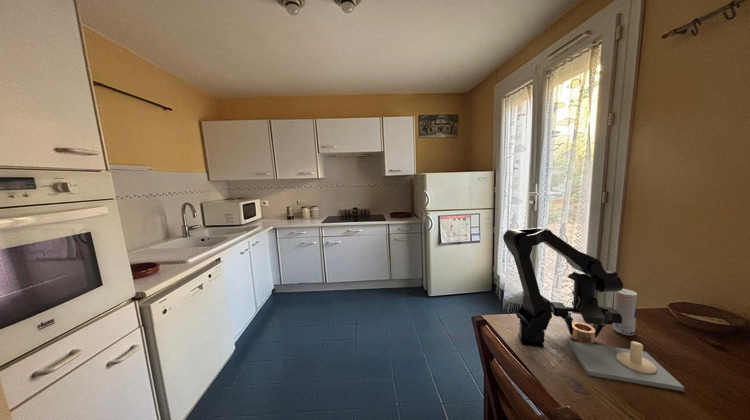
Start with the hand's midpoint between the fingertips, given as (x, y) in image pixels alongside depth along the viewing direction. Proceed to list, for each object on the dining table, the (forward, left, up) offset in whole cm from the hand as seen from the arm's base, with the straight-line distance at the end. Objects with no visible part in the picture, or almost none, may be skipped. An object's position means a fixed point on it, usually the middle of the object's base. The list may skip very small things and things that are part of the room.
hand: (582, 335), depth 86 cm
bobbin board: (+4, -12, -1) cm, 13 cm away
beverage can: (+15, +8, -1) cm, 17 cm away
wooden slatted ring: (0, 0, -1) cm, 1 cm away
